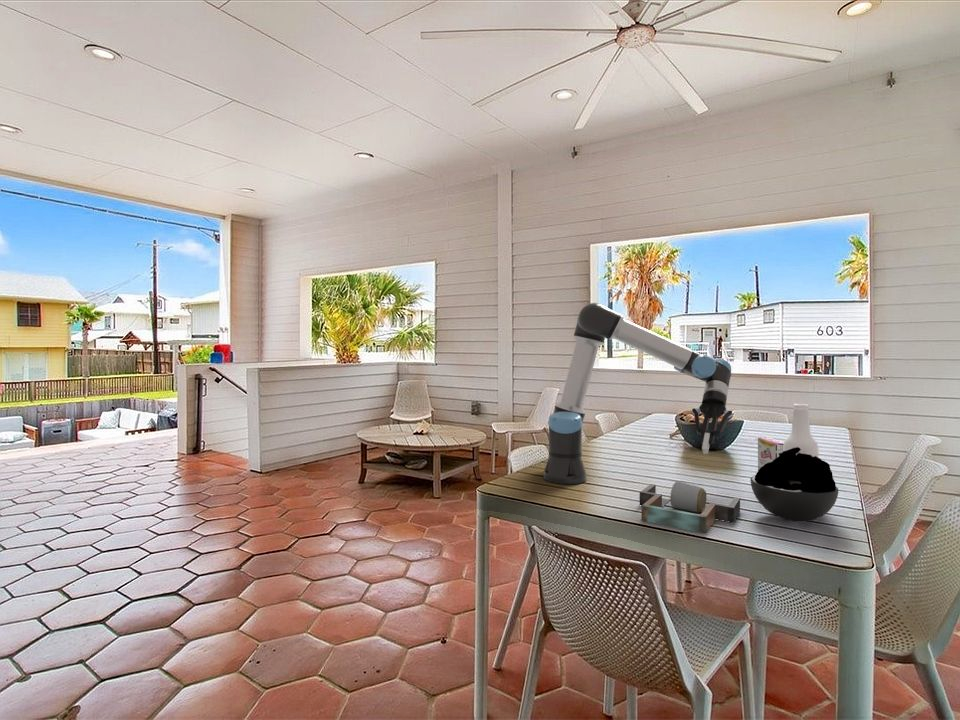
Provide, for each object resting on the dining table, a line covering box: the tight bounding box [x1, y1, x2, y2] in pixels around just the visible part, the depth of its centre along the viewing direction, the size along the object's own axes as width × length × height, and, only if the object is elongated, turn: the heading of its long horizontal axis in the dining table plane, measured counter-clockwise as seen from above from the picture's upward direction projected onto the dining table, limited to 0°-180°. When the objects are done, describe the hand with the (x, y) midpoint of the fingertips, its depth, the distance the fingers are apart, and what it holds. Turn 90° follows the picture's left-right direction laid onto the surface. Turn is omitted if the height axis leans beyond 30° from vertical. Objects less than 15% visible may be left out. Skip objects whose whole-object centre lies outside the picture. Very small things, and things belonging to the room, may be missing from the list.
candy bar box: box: [757, 437, 784, 471], centre depth 161 cm, size 11×5×16 cm, turn 179°
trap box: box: [639, 483, 741, 534], centre depth 136 cm, size 25×24×4 cm
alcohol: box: [783, 403, 820, 458], centre depth 145 cm, size 9×9×30 cm
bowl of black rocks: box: [750, 447, 839, 523], centre depth 132 cm, size 20×20×19 cm
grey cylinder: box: [670, 481, 707, 514], centre depth 141 cm, size 11×8×8 cm
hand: (704, 451), depth 159 cm, fingers closed
